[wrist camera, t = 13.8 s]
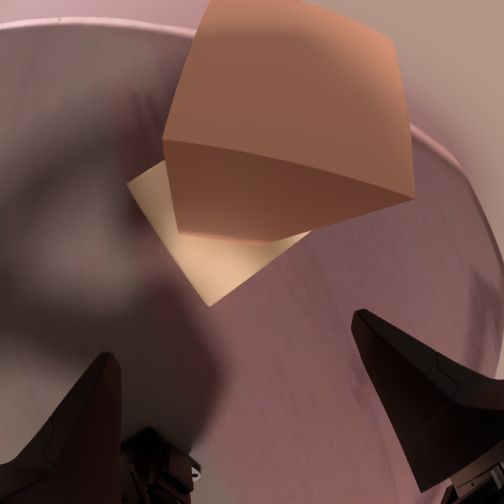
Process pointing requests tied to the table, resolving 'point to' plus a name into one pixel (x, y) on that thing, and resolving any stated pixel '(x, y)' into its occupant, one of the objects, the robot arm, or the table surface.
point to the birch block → (201, 242)
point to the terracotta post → (285, 123)
